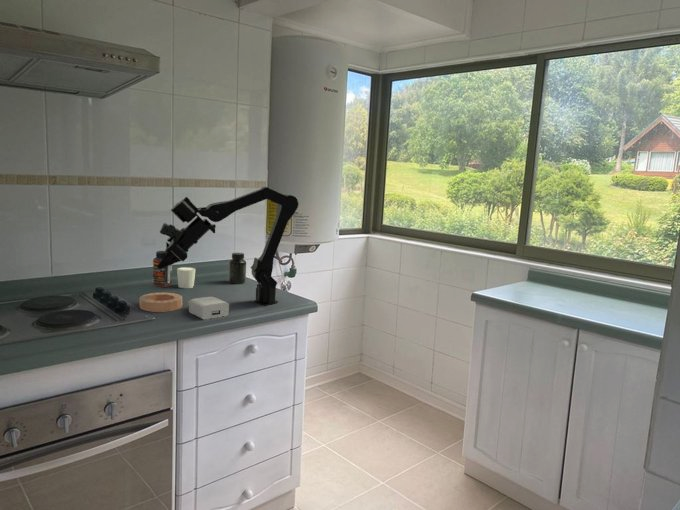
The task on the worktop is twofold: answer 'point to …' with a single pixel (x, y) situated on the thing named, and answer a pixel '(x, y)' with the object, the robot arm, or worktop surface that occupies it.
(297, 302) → the worktop surface
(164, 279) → the supplement bottle
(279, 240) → the robot arm
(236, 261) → the supplement bottle
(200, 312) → the charger
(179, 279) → the white tapered cylinder
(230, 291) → the worktop surface
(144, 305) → the collar
